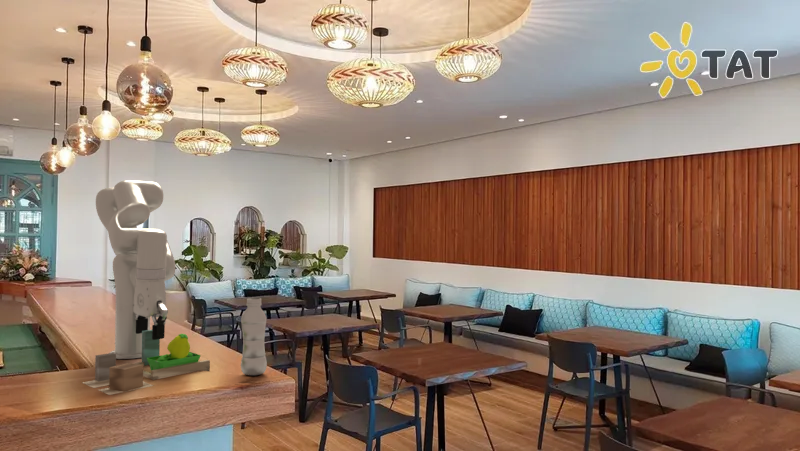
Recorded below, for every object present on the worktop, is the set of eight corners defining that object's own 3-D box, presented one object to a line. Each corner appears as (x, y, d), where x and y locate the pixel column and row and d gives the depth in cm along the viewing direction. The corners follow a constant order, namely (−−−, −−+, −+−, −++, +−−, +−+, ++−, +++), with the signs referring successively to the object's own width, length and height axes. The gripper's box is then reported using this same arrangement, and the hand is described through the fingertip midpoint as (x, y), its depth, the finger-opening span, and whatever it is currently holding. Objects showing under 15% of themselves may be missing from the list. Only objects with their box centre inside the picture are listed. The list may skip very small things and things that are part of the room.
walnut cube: (109, 389, 126) (109, 367, 126) (128, 383, 131) (128, 362, 131) (124, 391, 124) (124, 369, 124) (143, 386, 128) (143, 364, 129)
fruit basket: (186, 369, 150) (187, 328, 150) (204, 374, 144) (204, 331, 144) (145, 377, 141) (145, 333, 141) (162, 383, 135) (162, 337, 136)
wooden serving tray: (120, 371, 146) (120, 333, 146) (175, 361, 158) (175, 326, 158) (153, 383, 134) (153, 342, 134) (209, 371, 146) (210, 334, 146)
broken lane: (81, 387, 131) (82, 357, 132) (124, 379, 139) (124, 350, 139) (109, 400, 121) (109, 367, 122) (153, 390, 129) (153, 359, 129)
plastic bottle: (260, 378, 140) (260, 300, 140) (235, 377, 141) (236, 299, 142) (270, 372, 146) (271, 297, 147) (247, 371, 148) (248, 296, 148)
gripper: (123, 272, 155) (122, 332, 155) (152, 278, 143) (151, 343, 144) (150, 270, 160) (148, 329, 161) (179, 276, 149) (178, 339, 150)
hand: (149, 335), depth 152 cm, fingers open, 9 cm apart
